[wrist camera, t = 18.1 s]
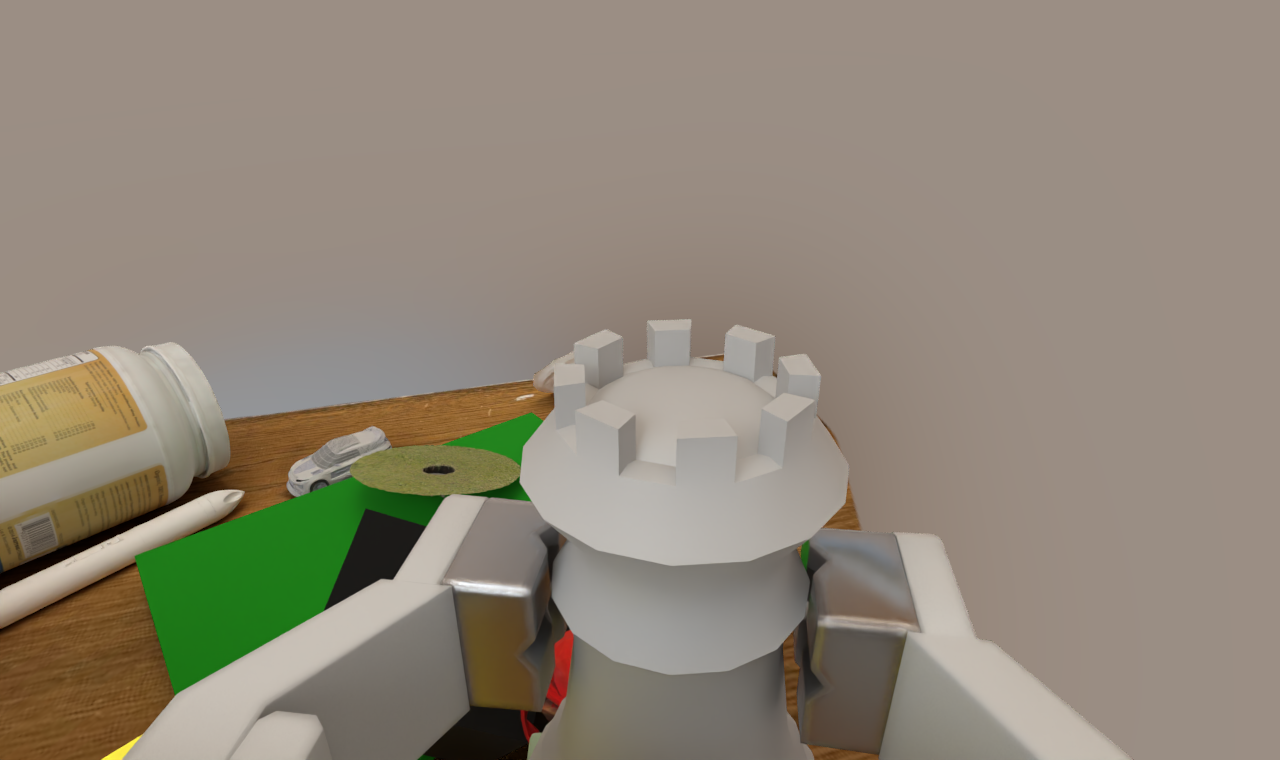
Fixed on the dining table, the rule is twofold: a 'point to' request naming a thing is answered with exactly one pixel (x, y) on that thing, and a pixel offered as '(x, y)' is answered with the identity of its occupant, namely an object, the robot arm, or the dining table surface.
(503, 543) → the robot arm
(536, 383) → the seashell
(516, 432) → the book
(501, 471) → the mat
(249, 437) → the dining table surface
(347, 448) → the toy car
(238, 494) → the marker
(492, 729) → the toy
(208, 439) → the supplement tub
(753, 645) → the rook chess piece
